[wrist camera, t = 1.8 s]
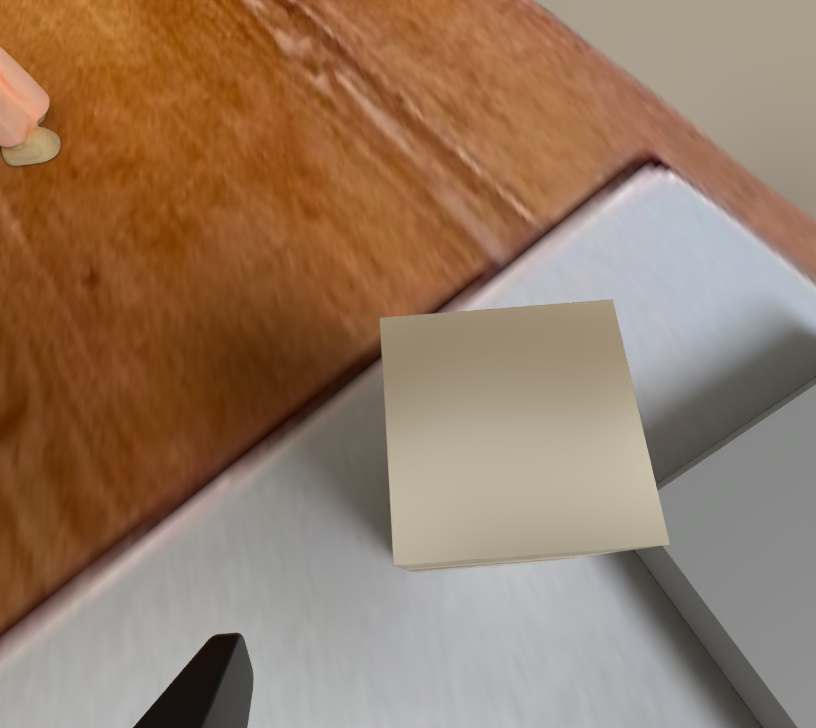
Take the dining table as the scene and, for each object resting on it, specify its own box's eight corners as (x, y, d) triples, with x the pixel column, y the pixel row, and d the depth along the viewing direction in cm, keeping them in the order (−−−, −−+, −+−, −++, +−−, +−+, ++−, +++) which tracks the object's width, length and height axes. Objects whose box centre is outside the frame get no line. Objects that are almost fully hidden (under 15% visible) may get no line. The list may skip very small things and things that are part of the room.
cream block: (540, 562, 19) (670, 544, 9) (412, 571, 19) (393, 565, 9) (522, 437, 21) (612, 299, 10) (404, 446, 21) (379, 317, 11)
